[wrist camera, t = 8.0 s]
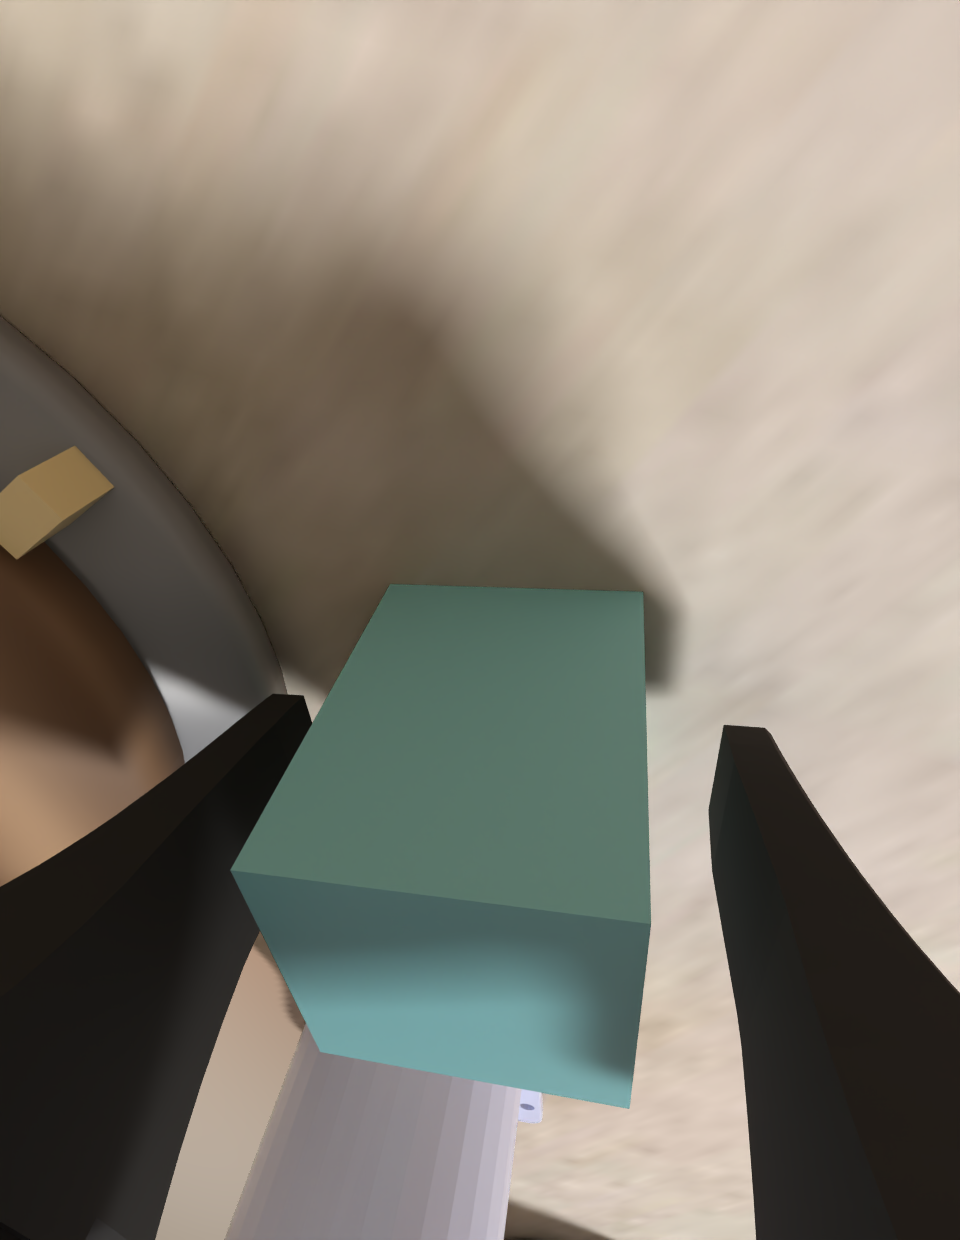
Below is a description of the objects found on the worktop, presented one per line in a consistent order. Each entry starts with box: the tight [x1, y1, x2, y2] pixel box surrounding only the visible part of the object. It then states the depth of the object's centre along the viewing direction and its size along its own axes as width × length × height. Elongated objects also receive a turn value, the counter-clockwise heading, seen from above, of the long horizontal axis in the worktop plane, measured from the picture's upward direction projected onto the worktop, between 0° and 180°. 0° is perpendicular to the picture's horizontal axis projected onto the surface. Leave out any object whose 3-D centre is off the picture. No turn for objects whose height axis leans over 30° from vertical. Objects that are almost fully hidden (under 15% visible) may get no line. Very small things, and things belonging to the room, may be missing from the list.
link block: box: [230, 584, 651, 1109], centre depth 10 cm, size 4×4×6 cm
